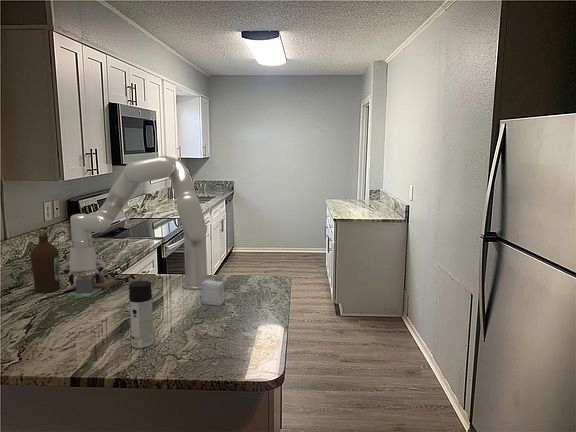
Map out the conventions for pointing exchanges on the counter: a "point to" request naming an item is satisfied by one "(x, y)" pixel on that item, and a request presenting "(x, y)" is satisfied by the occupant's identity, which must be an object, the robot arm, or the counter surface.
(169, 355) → the counter surface
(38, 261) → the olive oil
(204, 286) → the medicine box
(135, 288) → the spray can
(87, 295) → the mat
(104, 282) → the post stand
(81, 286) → the gift box
